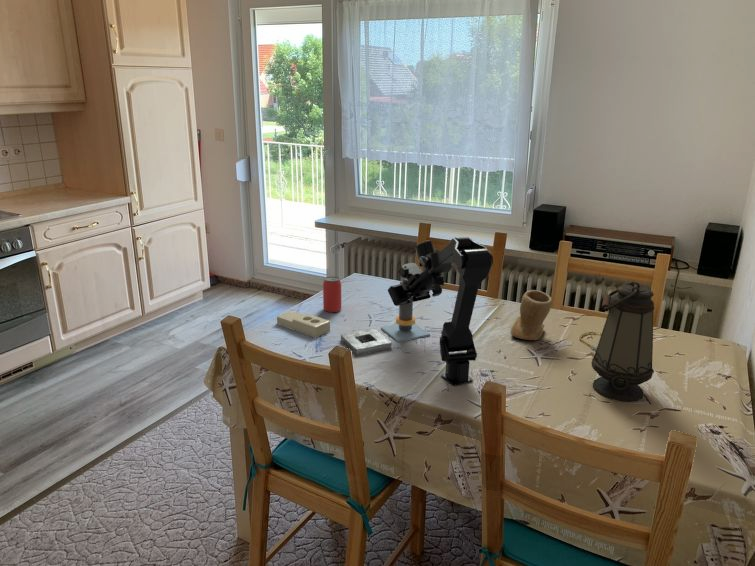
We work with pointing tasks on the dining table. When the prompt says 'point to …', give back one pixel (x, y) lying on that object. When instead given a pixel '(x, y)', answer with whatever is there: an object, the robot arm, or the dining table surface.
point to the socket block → (360, 348)
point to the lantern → (625, 344)
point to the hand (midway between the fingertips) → (403, 302)
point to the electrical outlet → (304, 323)
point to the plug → (405, 312)
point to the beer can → (332, 294)
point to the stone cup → (531, 315)
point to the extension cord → (589, 344)
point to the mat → (405, 332)
